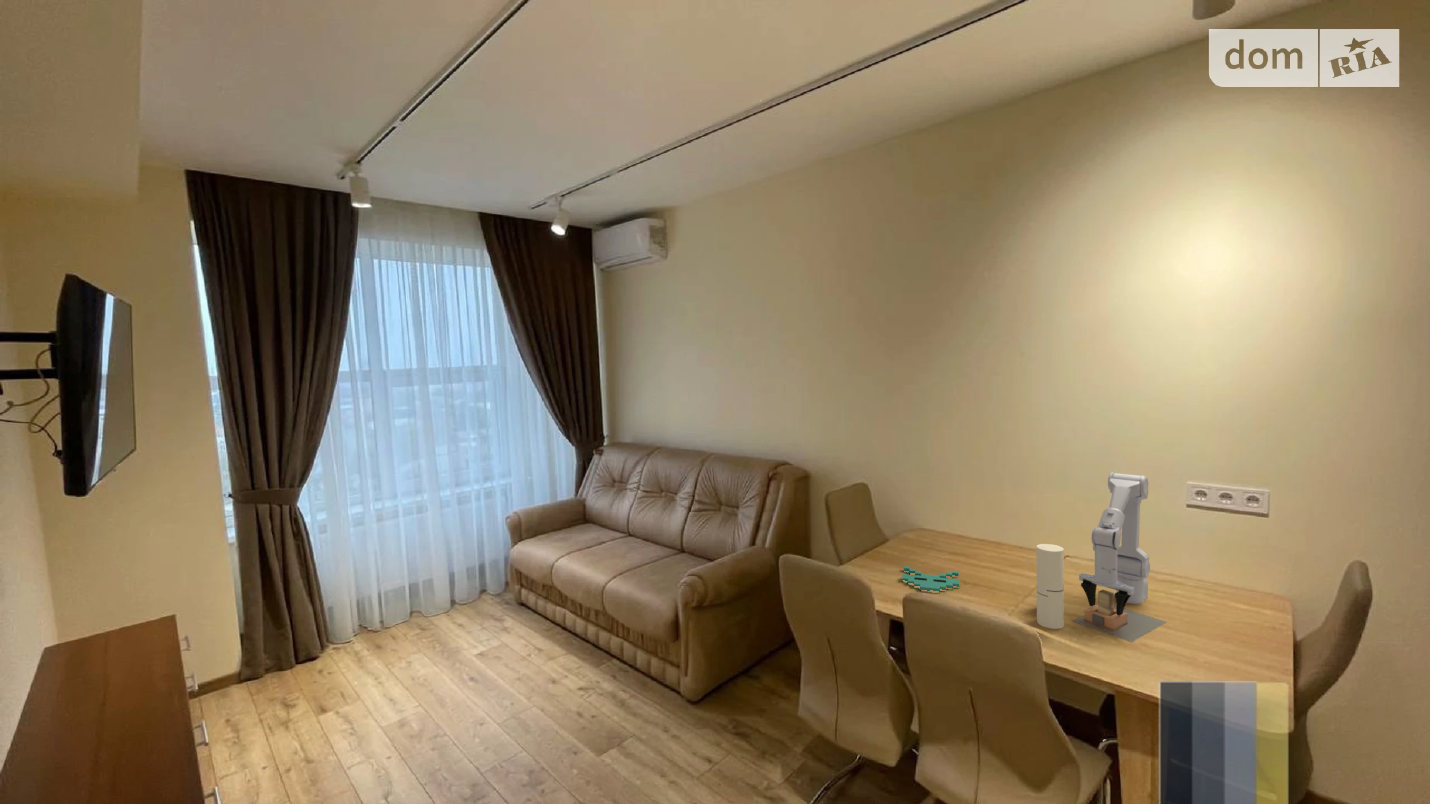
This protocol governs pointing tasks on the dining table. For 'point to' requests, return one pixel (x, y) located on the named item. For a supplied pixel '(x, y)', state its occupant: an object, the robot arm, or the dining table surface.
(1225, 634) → the dining table surface
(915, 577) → the alien figure
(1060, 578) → the cylindrical container
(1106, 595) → the tan rectangular block
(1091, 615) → the terracotta square frame
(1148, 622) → the slate board
